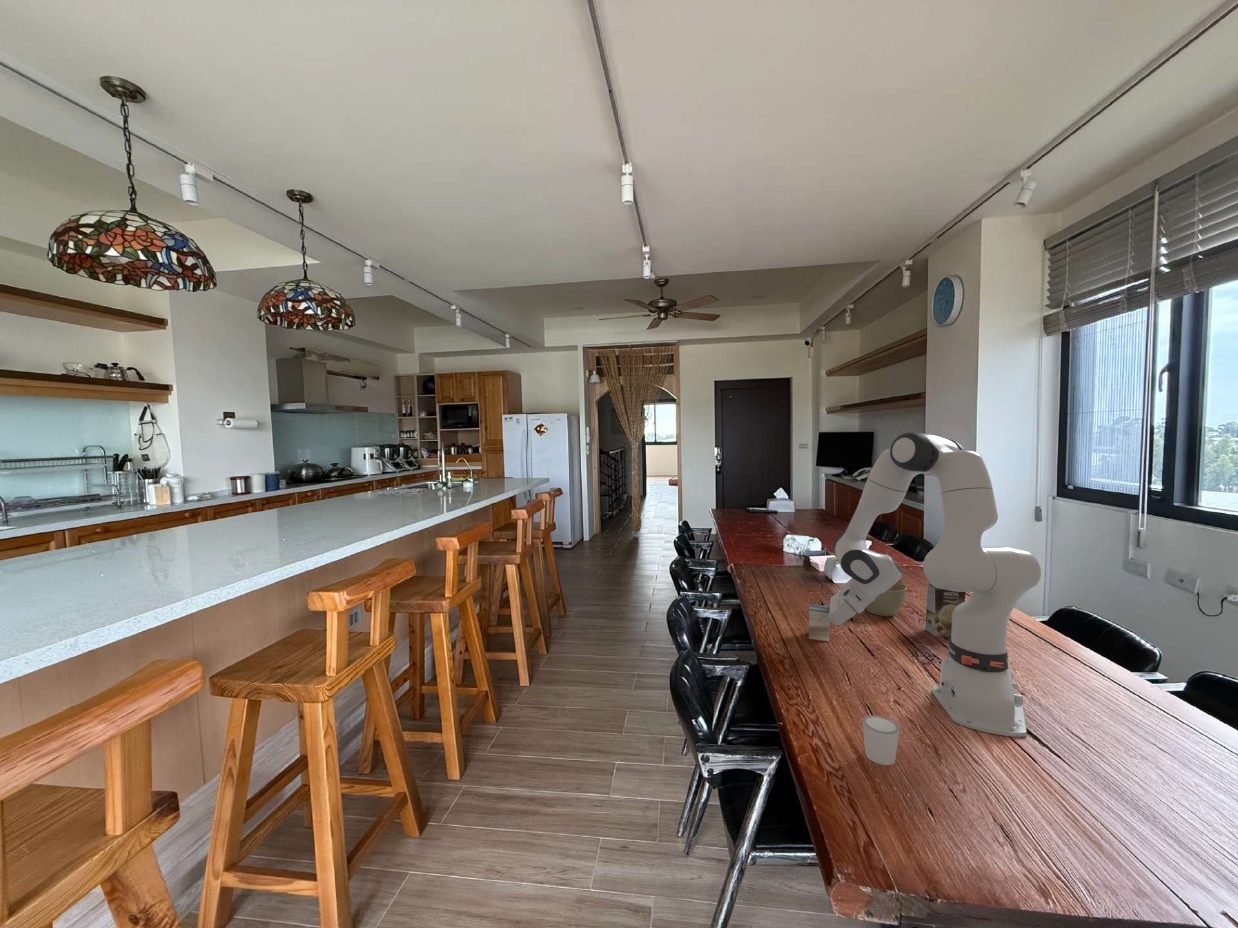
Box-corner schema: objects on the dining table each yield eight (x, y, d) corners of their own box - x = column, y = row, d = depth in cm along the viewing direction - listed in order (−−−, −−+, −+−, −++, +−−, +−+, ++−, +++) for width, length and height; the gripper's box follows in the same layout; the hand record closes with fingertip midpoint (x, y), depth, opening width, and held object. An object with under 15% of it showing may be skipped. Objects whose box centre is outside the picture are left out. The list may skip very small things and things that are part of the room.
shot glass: (866, 741, 109) (866, 710, 108) (901, 754, 104) (902, 722, 104) (858, 757, 103) (858, 725, 103) (895, 771, 99) (896, 737, 98)
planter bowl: (863, 618, 181) (863, 588, 180) (853, 603, 196) (853, 576, 196) (912, 621, 177) (913, 591, 176) (898, 606, 193) (898, 578, 192)
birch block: (828, 641, 161) (828, 611, 160) (808, 638, 163) (809, 608, 163) (829, 635, 165) (829, 606, 165) (809, 632, 168) (810, 603, 167)
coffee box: (934, 636, 164) (936, 588, 163) (924, 629, 170) (926, 583, 169) (964, 637, 163) (966, 589, 162) (953, 630, 169) (954, 583, 168)
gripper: (848, 578, 169) (816, 602, 174) (847, 596, 151) (812, 622, 155) (862, 592, 168) (830, 616, 172) (863, 612, 149) (828, 639, 154)
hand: (821, 619), depth 164 cm, fingers closed on birch block, 5 cm apart
